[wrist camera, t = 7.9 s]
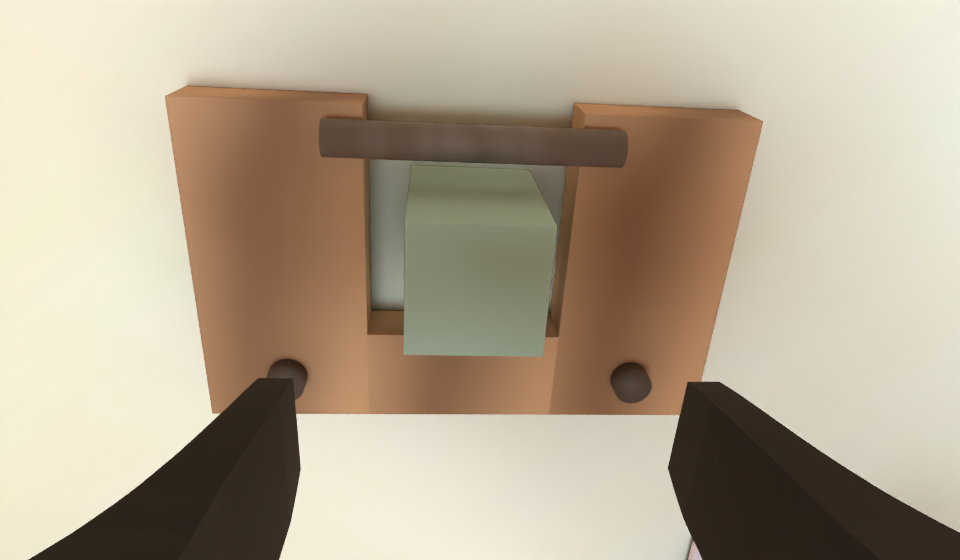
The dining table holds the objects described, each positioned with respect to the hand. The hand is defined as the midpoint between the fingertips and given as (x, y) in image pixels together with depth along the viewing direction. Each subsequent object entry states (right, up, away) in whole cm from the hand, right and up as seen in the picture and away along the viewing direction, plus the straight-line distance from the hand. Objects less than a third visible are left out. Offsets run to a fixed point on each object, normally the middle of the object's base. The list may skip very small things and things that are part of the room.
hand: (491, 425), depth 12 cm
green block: (-1, +5, +9) cm, 10 cm away
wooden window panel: (-1, +3, +9) cm, 10 cm away
